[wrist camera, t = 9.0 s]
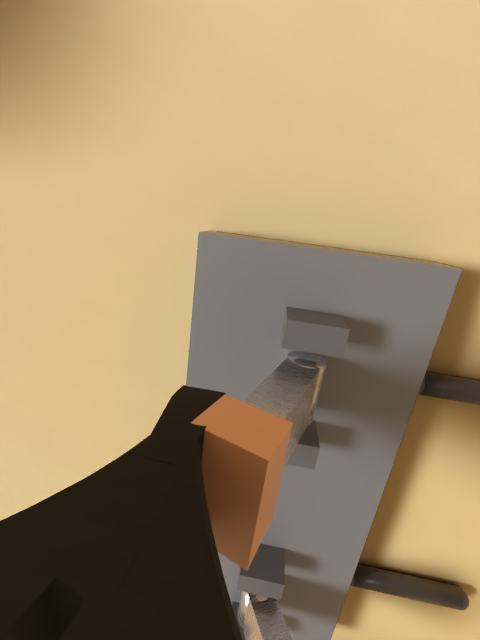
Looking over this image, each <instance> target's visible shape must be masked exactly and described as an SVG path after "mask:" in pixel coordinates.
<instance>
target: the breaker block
mask: <svg viewBox="0 0 480 640" xmlns="http://www.w3.org/2000/svg"><path fill="white" fill-rule="evenodd" d="M461 272H462V269H460V268H457V267H453V266H449V265H445V264H441V263H438V262H433V261H426V260H419V259H412V258H405V257H397V256H390V255H383V254H376V253H369V252H362V251H354V250H347V249H340V248H333V247H326V246H318V245H311V244H304V243H297V242H290V241H283V240H275V239H268V238H261V237H254V236H247V235H240V234H232V233H225V232H218V231H203V232H199V236H198V249H197V261H196V273H195V285H194V297H193V309H192V322H191V334H190V346H189V358H188V370H187V382H186V386H190V387H196V388H202V389H207V390H213V391H219V392H225V393H226V395H227V396H230V397H232V398H235V399H237V400H239V401H243V400H244V399H245V398H246V397H247V396H248V395H249V394H250V393H251V392H252V391H253V390H254V389H255V388H256V387H257V386H258V385H259V384H260V383H261V382H262V381H263V380H264V379H266V378H267V377H268V376H269V375H270V374H271V373H272V372H273V371H274V370H275V369H276V368H277V367H278V366H279V365H280V364H281V363H282V362H283V361H284V360H285V359H286V358H287V354H288V353H289V352H292V351H303V352H309V353H313V354H316V355H318V356H320V357H322V358H323V359H324V360H325V361H326V368H325V372H324V376H323V381H322V385H321V389H320V393H319V397H318V402H317V406H316V410H315V414H314V418H313V422H312V424H311V425H310V426H308V427H306V429H305V431H304V433H303V435H302V436H301V438H300V440H299V442H298V444H297V446H296V447H295V449H294V451H293V453H292V455H291V456H290V458H289V460H288V462H287V464H286V465H285V467H284V469H283V471H282V476H281V480H280V485H279V490H278V494H277V499H276V504H275V508H274V513H273V517H272V522H271V524H270V526H269V528H268V530H267V532H266V534H265V536H264V538H263V540H262V542H261V544H260V546H259V548H258V550H257V552H256V554H255V556H254V558H253V560H252V562H251V564H250V566H249V568H248V570H247V571H246V570H245V569H243V568H242V567H240V566H239V565H237V564H236V563H234V562H233V561H231V560H230V559H228V558H227V557H225V556H224V555H222V554H221V553H219V552H218V555H219V559H220V563H221V568H222V572H223V576H224V579H225V583H226V586H227V590H228V593H229V597H230V600H231V604H232V607H233V610H234V614H235V617H236V620H237V624H238V627H239V630H240V633H241V636H242V639H243V640H245V636H244V632H243V629H242V628H241V626H240V624H239V622H238V617H237V614H238V608H239V603H240V597H241V592H242V591H244V592H248V593H252V594H257V595H261V596H265V597H270V598H274V599H277V602H278V604H279V607H280V609H281V612H282V615H283V617H284V620H285V622H286V625H287V628H288V630H289V633H290V635H291V638H292V640H331V638H332V635H333V632H334V629H335V626H336V623H337V621H338V618H339V615H340V612H341V609H342V607H343V604H344V601H345V598H346V595H347V592H348V590H349V587H350V585H351V586H355V587H359V588H364V589H368V590H373V591H377V592H382V593H386V594H390V595H395V596H399V597H404V598H408V599H413V600H417V601H422V602H426V603H431V604H435V605H440V606H444V607H449V608H453V609H458V610H465V609H467V607H468V606H469V599H468V596H467V594H466V593H465V591H464V590H463V589H462V588H460V587H458V586H456V585H451V584H447V583H442V582H437V581H433V580H428V579H424V578H419V577H414V576H410V575H405V574H401V573H396V572H391V571H387V570H382V569H378V568H373V567H368V566H364V565H359V564H358V562H359V559H360V556H361V553H362V550H363V547H364V545H365V542H366V539H367V536H368V533H369V531H370V528H371V525H372V522H373V519H374V516H375V514H376V511H377V508H378V505H379V502H380V500H381V497H382V494H383V491H384V488H385V485H386V483H387V480H388V477H389V474H390V471H391V469H392V466H393V463H394V460H395V457H396V455H397V452H398V449H399V446H400V443H401V440H402V438H403V435H404V432H405V429H406V426H407V424H408V421H409V418H410V415H411V412H412V409H413V407H414V404H415V401H416V398H417V395H418V394H419V395H425V396H431V397H437V398H443V399H448V400H454V401H460V402H466V403H471V404H477V405H480V381H478V380H472V379H466V378H460V377H454V376H448V375H442V374H436V373H430V372H426V370H427V367H428V364H429V362H430V359H431V356H432V353H433V350H434V348H435V345H436V342H437V339H438V336H439V333H440V331H441V328H442V325H443V322H444V319H445V317H446V314H447V311H448V308H449V305H450V302H451V300H452V297H453V294H454V291H455V288H456V286H457V283H458V280H459V277H460V274H461Z"/></svg>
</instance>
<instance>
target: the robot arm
mask: <svg viewBox="0 0 480 640" xmlns="http://www.w3.org/2000/svg"><path fill="white" fill-rule="evenodd" d="M223 395H226V393H225V392H219V391H213V390H207V389H202V388H196V387H190V386H185V385H183V386H182V387H181V388H180V389H179V390H178V391H177V392H176V393H175V394H174V395H173V396H172V397H171V399H170V401H169V403H168V404H167V406H166V408H165V410H164V411H163V413H162V415H161V417H160V419H159V420H158V422H157V424H156V426H155V428H154V429H153V431H152V433H151V435H149V436H148V437H147V438H145V439H144V440H143V441H141V442H140V443H139V444H137V445H136V446H135V447H133V448H132V449H130V450H129V451H127V452H126V453H124V454H123V455H122V456H120V457H119V458H117V459H115V460H114V461H112V462H111V463H109V464H108V465H106V466H104V467H103V468H101V469H100V470H98V471H96V472H95V473H93V474H91V475H90V476H88V477H86V478H84V479H83V480H81V481H79V482H77V483H75V484H73V485H71V486H70V487H68V488H66V489H64V490H62V491H60V492H58V493H56V494H54V495H52V496H51V497H49V498H47V499H45V500H43V501H41V502H39V503H37V504H35V505H33V506H31V507H29V508H27V509H25V510H23V511H21V512H19V513H16V514H14V515H12V516H10V517H8V518H6V519H4V520H1V521H0V640H243V639H242V636H241V633H240V630H239V627H238V624H237V620H236V617H235V614H234V610H233V607H232V604H231V600H230V597H229V593H228V590H227V586H226V583H225V579H224V576H223V572H222V568H221V563H220V559H219V555H218V551H217V547H216V543H215V539H214V535H213V531H212V526H211V521H210V516H209V511H208V506H207V500H206V494H205V487H204V480H203V472H202V452H203V443H204V433H205V428H206V427H207V426H202V425H196V424H192V423H191V422H192V421H193V420H195V419H196V418H197V417H198V416H199V415H201V414H202V413H203V412H204V411H205V410H207V409H208V408H209V407H210V406H211V405H213V404H214V403H215V402H216V401H217V400H219V399H220V398H221V397H222V396H223Z"/></svg>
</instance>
